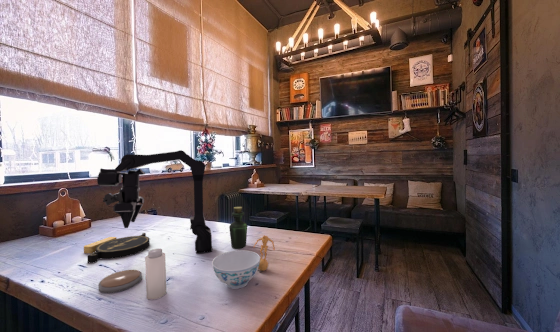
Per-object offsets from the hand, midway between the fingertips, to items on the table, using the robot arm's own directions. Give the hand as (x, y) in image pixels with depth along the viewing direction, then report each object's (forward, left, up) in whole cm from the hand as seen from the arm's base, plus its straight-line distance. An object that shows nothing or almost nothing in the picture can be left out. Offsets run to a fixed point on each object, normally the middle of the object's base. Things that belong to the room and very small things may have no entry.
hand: (129, 224), depth 92 cm
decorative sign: (+10, -16, -15) cm, 24 cm away
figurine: (-50, +23, -15) cm, 57 cm away
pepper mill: (-16, +29, -15) cm, 37 cm away
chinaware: (-40, +30, -15) cm, 52 cm away
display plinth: (-3, +19, -15) cm, 24 cm away
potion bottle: (-43, -2, -15) cm, 45 cm away
